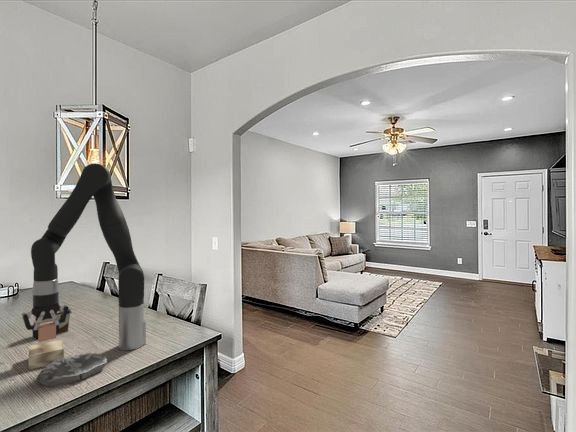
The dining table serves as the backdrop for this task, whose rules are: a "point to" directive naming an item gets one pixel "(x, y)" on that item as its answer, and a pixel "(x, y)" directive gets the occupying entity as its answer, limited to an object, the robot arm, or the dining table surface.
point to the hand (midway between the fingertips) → (46, 336)
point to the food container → (64, 325)
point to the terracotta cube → (46, 331)
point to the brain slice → (72, 369)
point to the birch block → (45, 353)
